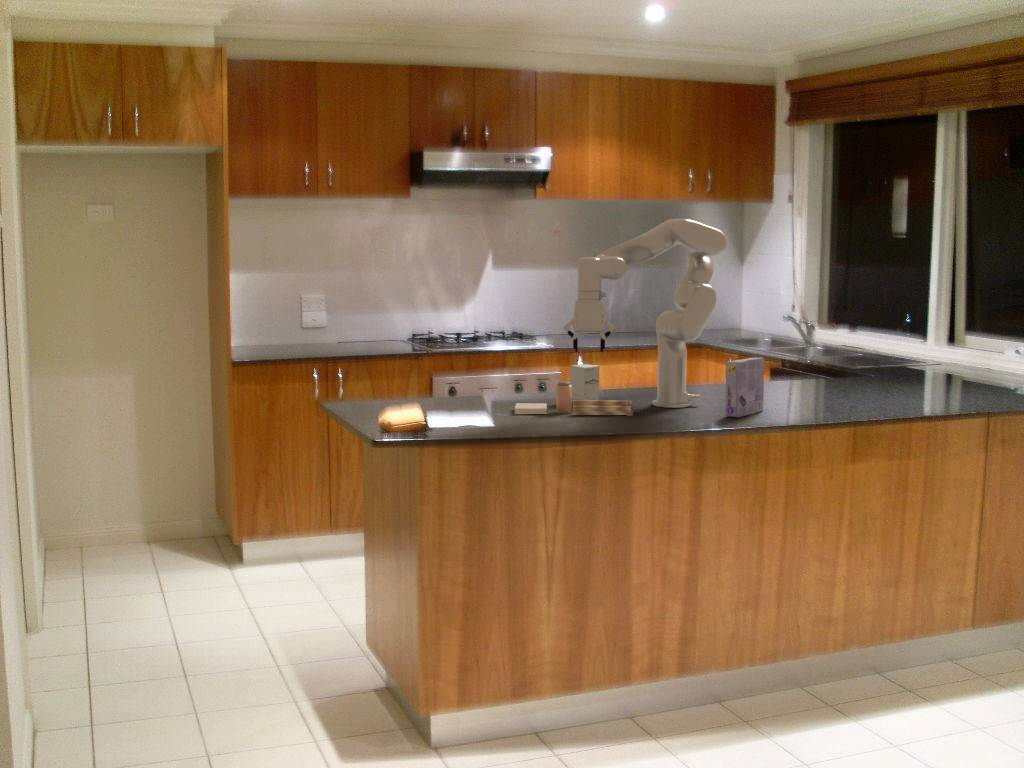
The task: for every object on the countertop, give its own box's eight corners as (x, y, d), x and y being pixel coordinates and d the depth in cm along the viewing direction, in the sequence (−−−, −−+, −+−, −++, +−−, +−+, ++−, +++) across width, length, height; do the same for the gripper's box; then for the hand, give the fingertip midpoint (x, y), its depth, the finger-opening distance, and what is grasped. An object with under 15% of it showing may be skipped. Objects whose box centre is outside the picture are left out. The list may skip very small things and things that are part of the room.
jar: (570, 410, 356) (570, 381, 354) (572, 413, 351) (572, 383, 350) (555, 411, 356) (555, 381, 354) (557, 413, 351) (557, 383, 349)
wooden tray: (630, 409, 358) (631, 400, 357) (633, 416, 346) (633, 406, 346) (572, 409, 359) (572, 400, 358) (572, 415, 347) (573, 406, 347)
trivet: (546, 409, 358) (546, 403, 358) (546, 414, 349) (546, 408, 348) (516, 409, 359) (516, 403, 359) (514, 414, 349) (514, 408, 349)
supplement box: (583, 404, 368) (584, 367, 366) (568, 402, 373) (569, 365, 371) (599, 402, 372) (600, 365, 370) (584, 399, 378) (585, 363, 376)
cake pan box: (751, 409, 359) (753, 355, 357) (765, 410, 356) (767, 356, 354) (723, 417, 345) (724, 361, 342) (737, 419, 342) (739, 362, 339)
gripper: (616, 295, 351) (615, 350, 353) (562, 295, 351) (561, 350, 354) (617, 297, 343) (616, 353, 346) (562, 297, 344) (561, 352, 347)
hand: (588, 351), depth 350 cm, fingers open, 7 cm apart
